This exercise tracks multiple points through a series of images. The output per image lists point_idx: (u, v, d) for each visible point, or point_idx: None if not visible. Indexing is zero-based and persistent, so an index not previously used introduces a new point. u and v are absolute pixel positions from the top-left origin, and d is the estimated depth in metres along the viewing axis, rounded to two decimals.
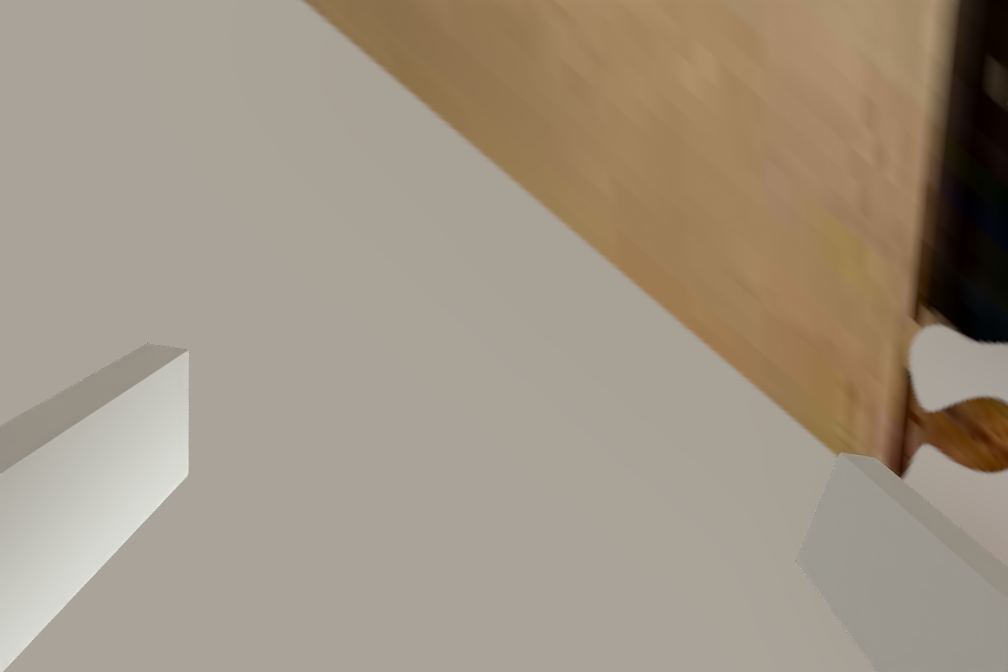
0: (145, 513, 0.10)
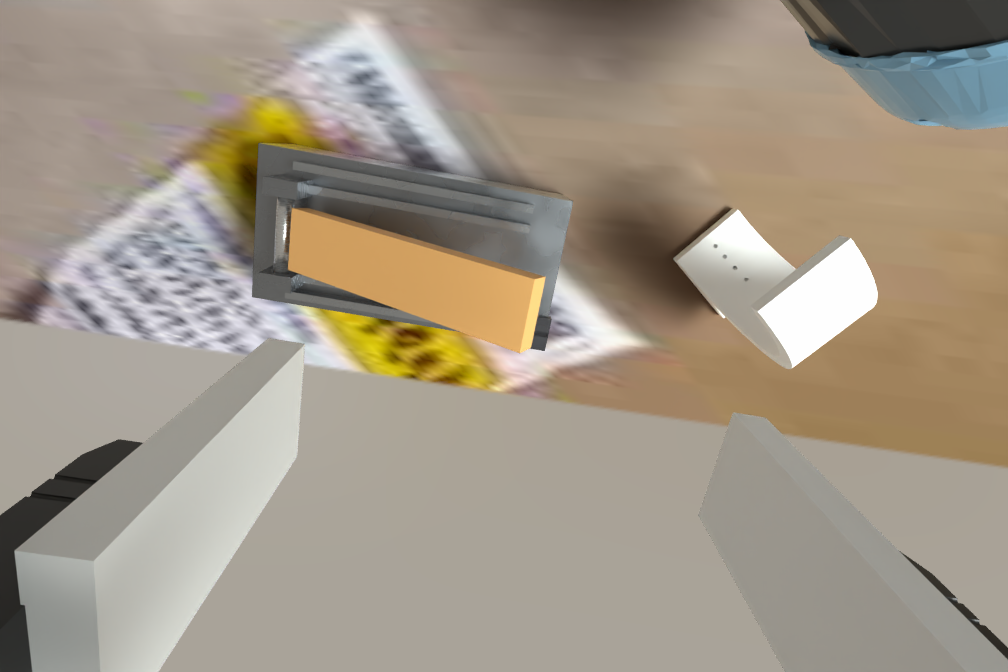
0: (272, 488, 0.11)
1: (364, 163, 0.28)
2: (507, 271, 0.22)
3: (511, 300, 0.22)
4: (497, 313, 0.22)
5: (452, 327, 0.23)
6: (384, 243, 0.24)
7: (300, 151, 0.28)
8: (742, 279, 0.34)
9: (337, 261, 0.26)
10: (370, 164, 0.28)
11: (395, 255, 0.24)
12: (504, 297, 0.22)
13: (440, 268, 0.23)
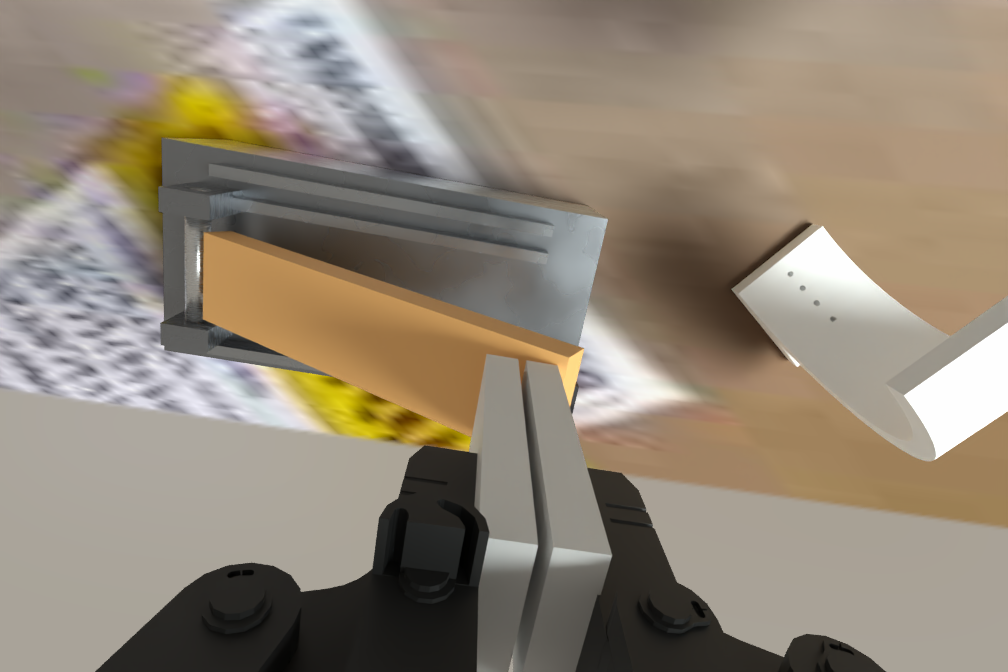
0: None
1: (313, 166, 0.20)
2: (523, 342, 0.14)
3: None
4: None
5: (437, 419, 0.15)
6: (334, 289, 0.16)
7: (222, 149, 0.20)
8: (827, 318, 0.25)
9: (268, 311, 0.18)
10: (322, 168, 0.20)
11: (350, 308, 0.16)
12: None
13: (417, 331, 0.15)
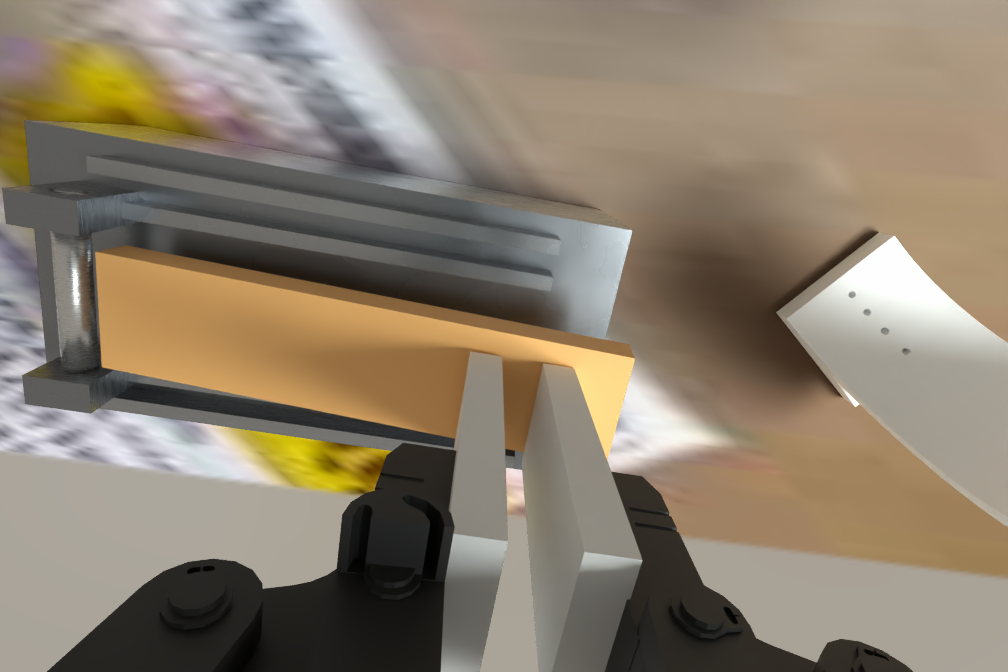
0: None
1: (235, 160, 0.15)
2: (583, 348, 0.13)
3: (591, 393, 0.13)
4: None
5: None
6: (329, 311, 0.13)
7: (109, 137, 0.15)
8: (899, 351, 0.20)
9: (222, 347, 0.14)
10: (247, 161, 0.15)
11: (354, 331, 0.13)
12: None
13: (451, 349, 0.13)
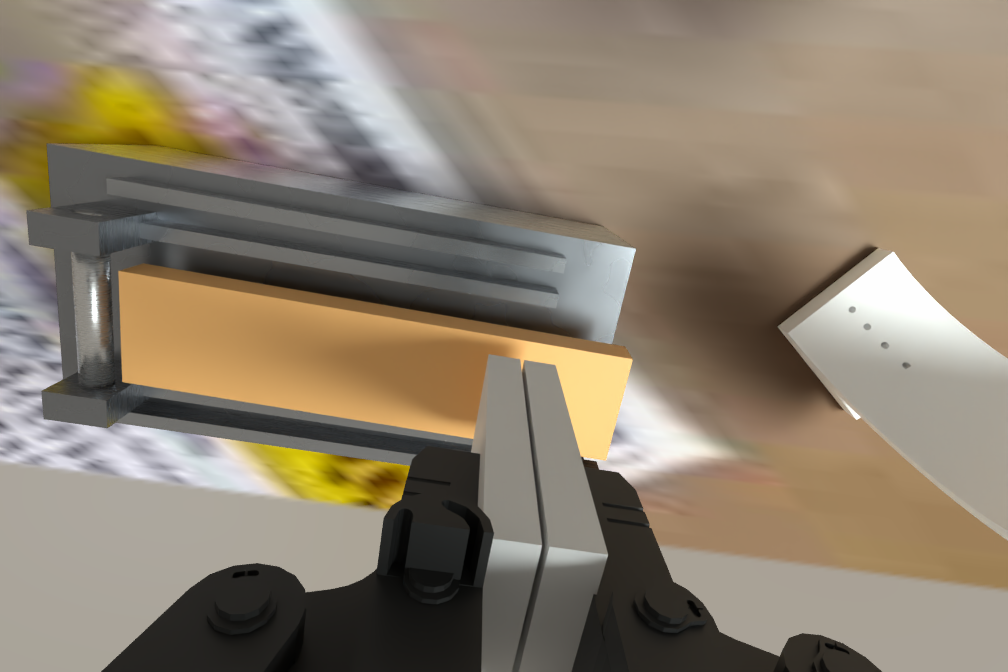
0: None
1: (250, 181, 0.15)
2: (585, 351, 0.14)
3: (593, 392, 0.15)
4: (569, 411, 0.15)
5: None
6: (349, 323, 0.14)
7: (128, 159, 0.15)
8: (899, 365, 0.21)
9: (244, 359, 0.15)
10: (261, 183, 0.15)
11: (373, 341, 0.14)
12: (581, 388, 0.15)
13: (465, 356, 0.14)
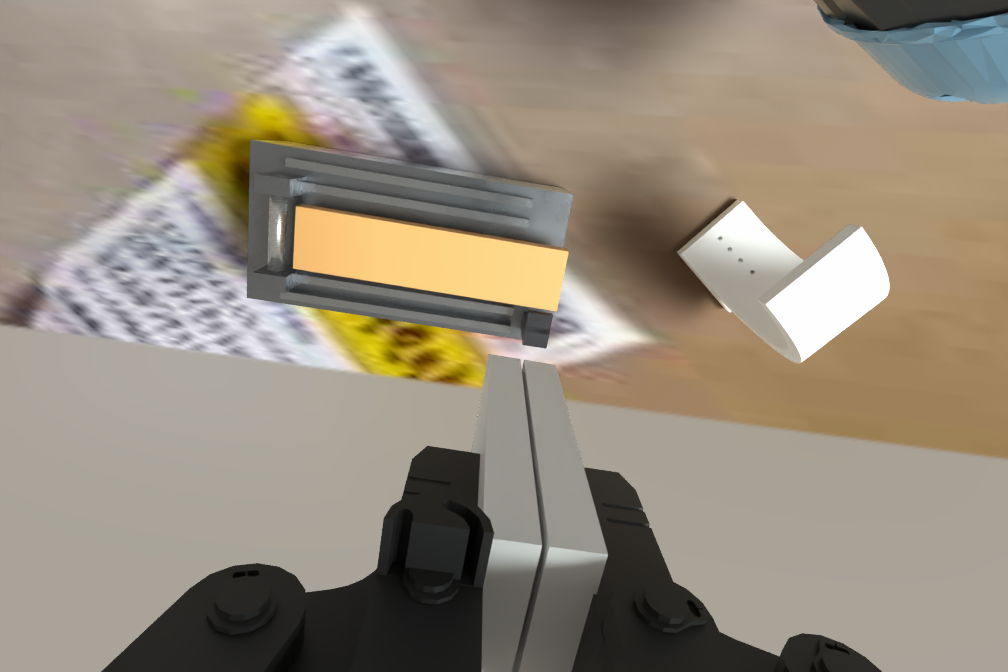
0: None
1: (358, 159, 0.28)
2: (543, 247, 0.27)
3: (548, 270, 0.27)
4: (535, 282, 0.27)
5: (491, 299, 0.28)
6: (416, 233, 0.27)
7: (293, 147, 0.27)
8: (748, 272, 0.33)
9: (359, 254, 0.27)
10: (365, 160, 0.28)
11: (429, 243, 0.27)
12: (541, 268, 0.27)
13: (478, 251, 0.27)
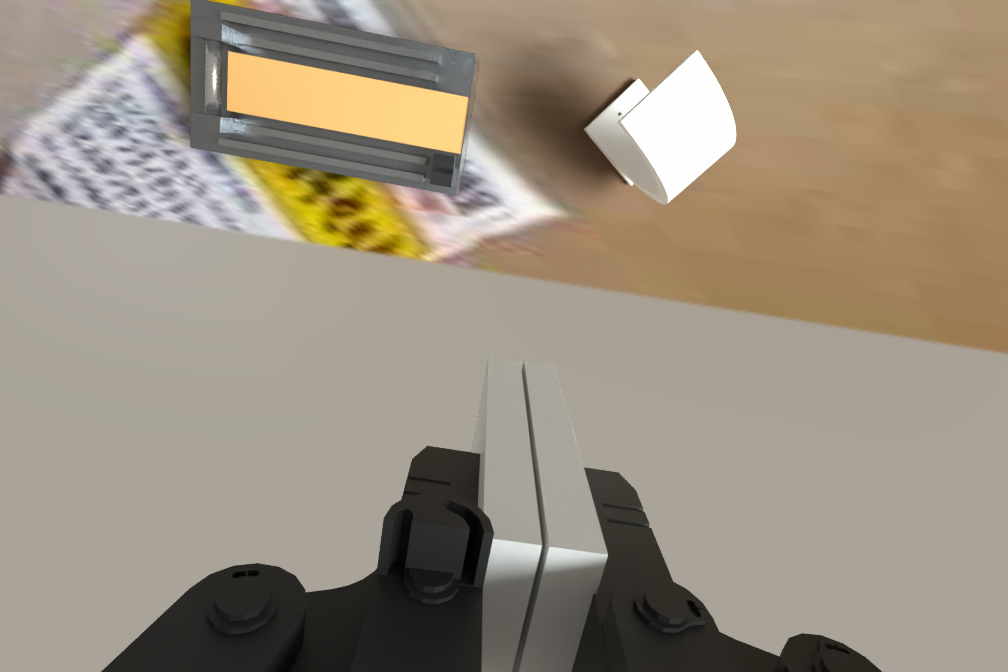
0: None
1: (286, 17, 0.32)
2: (445, 93, 0.31)
3: (450, 115, 0.31)
4: (439, 126, 0.31)
5: (402, 141, 0.32)
6: (334, 78, 0.31)
7: (228, 5, 0.31)
8: None
9: (285, 97, 0.31)
10: (292, 18, 0.32)
11: (345, 88, 0.31)
12: (444, 113, 0.31)
13: (388, 95, 0.31)
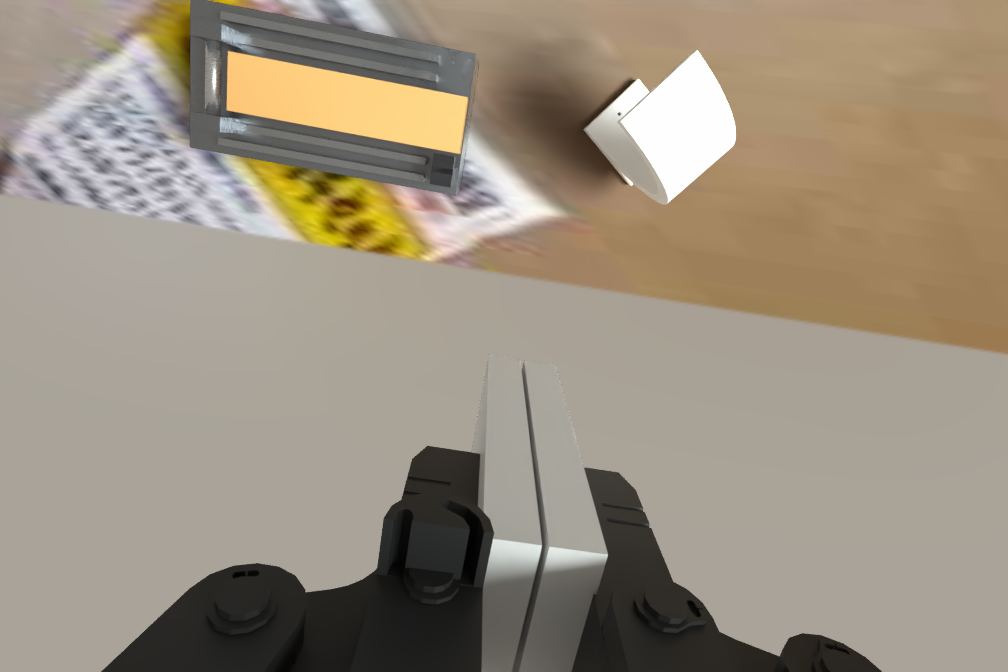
0: None
1: (286, 17, 0.32)
2: (445, 93, 0.31)
3: (450, 115, 0.31)
4: (439, 126, 0.31)
5: (401, 141, 0.32)
6: (334, 78, 0.31)
7: (228, 5, 0.31)
8: None
9: (284, 97, 0.31)
10: (292, 18, 0.32)
11: (345, 87, 0.31)
12: (444, 113, 0.31)
13: (388, 95, 0.31)
